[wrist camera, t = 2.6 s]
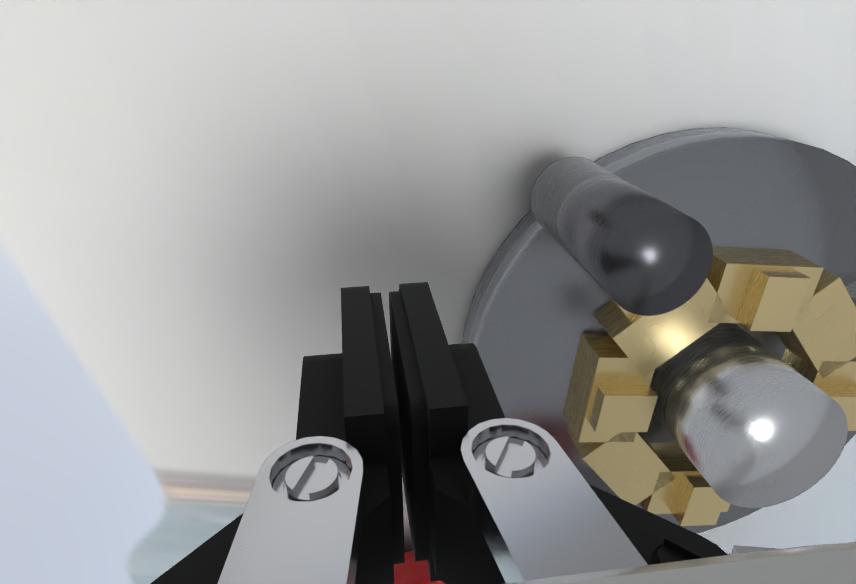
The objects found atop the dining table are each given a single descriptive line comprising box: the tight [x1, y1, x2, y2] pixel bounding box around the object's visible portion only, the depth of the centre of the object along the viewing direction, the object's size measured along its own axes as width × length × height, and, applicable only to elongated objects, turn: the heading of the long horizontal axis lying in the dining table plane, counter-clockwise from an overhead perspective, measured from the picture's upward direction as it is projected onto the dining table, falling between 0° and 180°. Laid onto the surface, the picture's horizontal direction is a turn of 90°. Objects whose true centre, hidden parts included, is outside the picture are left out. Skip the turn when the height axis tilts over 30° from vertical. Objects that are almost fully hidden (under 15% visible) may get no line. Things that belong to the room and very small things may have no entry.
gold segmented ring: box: [531, 157, 856, 526], centre depth 18 cm, size 15×10×6 cm, turn 39°
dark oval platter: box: [462, 128, 856, 533], centre depth 21 cm, size 17×17×6 cm
